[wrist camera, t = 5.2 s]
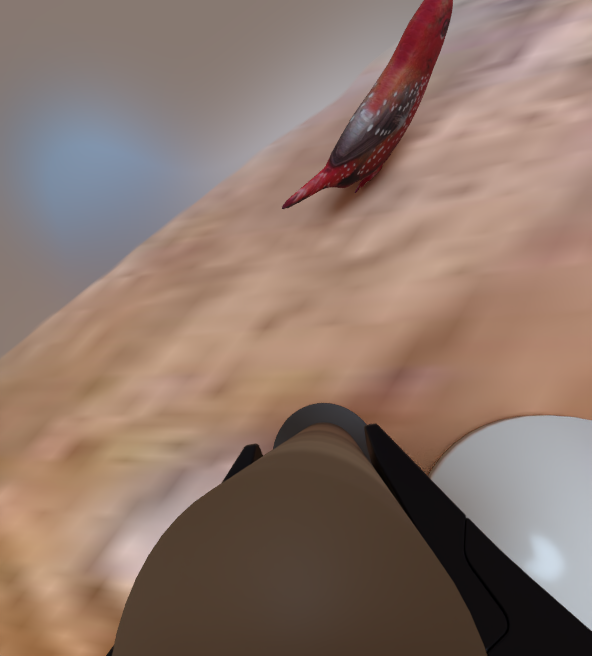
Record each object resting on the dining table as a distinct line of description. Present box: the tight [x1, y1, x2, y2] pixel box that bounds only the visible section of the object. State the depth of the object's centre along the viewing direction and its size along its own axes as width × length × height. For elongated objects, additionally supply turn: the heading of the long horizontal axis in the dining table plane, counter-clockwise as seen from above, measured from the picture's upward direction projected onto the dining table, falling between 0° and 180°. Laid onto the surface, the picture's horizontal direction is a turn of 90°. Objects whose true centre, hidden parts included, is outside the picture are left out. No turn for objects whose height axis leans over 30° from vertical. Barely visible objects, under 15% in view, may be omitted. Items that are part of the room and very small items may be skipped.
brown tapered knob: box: [112, 403, 487, 656], centre depth 9 cm, size 6×6×13 cm
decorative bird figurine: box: [282, 0, 453, 209], centre depth 19 cm, size 3×18×10 cm, turn 138°
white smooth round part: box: [428, 415, 592, 631], centre depth 14 cm, size 18×18×1 cm
